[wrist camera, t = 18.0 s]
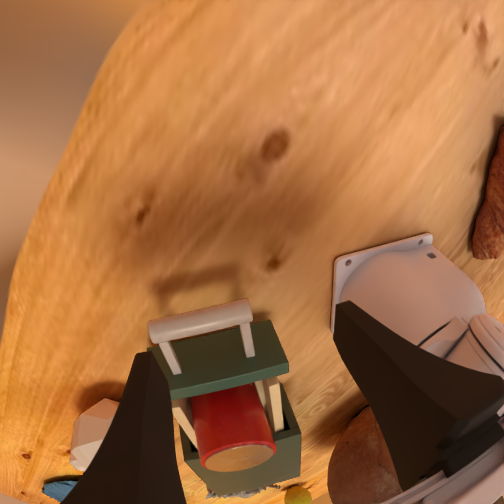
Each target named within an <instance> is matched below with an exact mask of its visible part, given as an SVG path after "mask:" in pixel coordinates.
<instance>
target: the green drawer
mask: <svg viewBox="0 0 504 504" xmlns="http://www.w3.org/2000/svg"><path fill="white" fill-rule="evenodd" d="M252 321H253V315H252V310H251V307H250V303H249V301H248V299H247V298H245V299H241V300H237V301H233V302H229V303H225V304H220V305H216V306H212V307H208V308H204V309H199V310H195V311H190V312H186V313H182V314H177V315H173V316H168V317H164V318H159V319H155V320H150V321H148V332H149V336H150V338H151V341H152V342H153V343H154V344H156V343H158V344H159V346H154V347H149V348H147V351H152V352H153V354H154V356H155V358H156V360H157V362H158V364H159V366H160V368H161V370H162V371H163V373H164V375H165V377H166V379H167V381H168V384H169V390H170V396H171V402H172V412H173V415H174V417H175V418H176V420H177V421H178V423H179V424H180V425H181V427H182V428H183V430H184V431H185V433H186V434H187V436H188V437H189V438H190V440H191V441H192V443H193V444H194V445H195V447H196V448H197V450H198V447H197V442H196V436H195V430H194V424H193V418H192V412H191V405H190V399H189V397H192V396H197V395H202V394H206V393H211V392H215V391H220V390H224V389H228V388H233V387H237V386H241V385H245V384H249V383H253V382H255V384H256V387H257V390H258V393H259V396H260V399H261V402H262V405H263V408H264V412H265V415H266V418H267V421H268V424H269V427H270V430H271V433H272V435H273V434H276V433H280V432H283V431H284V426H283V415H282V404H281V394H280V384H279V381H278V378H277V376H278V375H282V374H285V373H288V372H289V362H288V360H287V357H286V355H285V353H284V350H283V348H282V346H281V343H280V341H279V339H278V336H277V334H276V331H275V329H274V327H273V324H272V322H271V320H266V321H262V322H258V323H254V324H250V323H249V322H252ZM236 325H239V328H234V329H230V330H226V331H222V332H218V333H214V334H209V335H205V336H201V337H196V338H192V339H187V340H183V341H178V342H174V343H170V341H171V340H175V339H180V338H184V337H189V336H193V335H198V334H202V333H207V332H211V331H215V330H219V329H224V328H228V327H232V326H236Z"/></svg>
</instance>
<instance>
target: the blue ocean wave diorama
mask: <svg viewBox="0 0 504 504" xmlns="http://www.w3.org/2000/svg"><path fill="white" fill-rule="evenodd" d="M76 483H77V481H72V480H70V481H69V482H68V481H67V480H66V481H62V482H61V481H59V482H53V483H49V484H45V485H44V490H43V491H41V492H43V493H44V494H46V495H47V496H50V498H55V500H58V502H62V501H63V499H64V498H65V497H66V496H67V495H68V493H69V492H70V491H71V490H72V489H73V487H74V486H75V485H76Z"/></svg>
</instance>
